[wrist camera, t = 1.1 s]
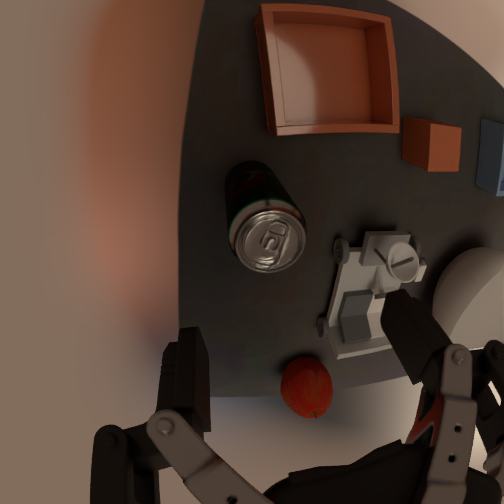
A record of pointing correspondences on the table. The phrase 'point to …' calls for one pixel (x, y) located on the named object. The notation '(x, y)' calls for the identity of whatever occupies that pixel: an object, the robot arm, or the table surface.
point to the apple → (307, 387)
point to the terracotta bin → (327, 70)
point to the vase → (472, 298)
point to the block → (431, 144)
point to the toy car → (367, 289)
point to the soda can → (262, 219)
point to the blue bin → (491, 158)
